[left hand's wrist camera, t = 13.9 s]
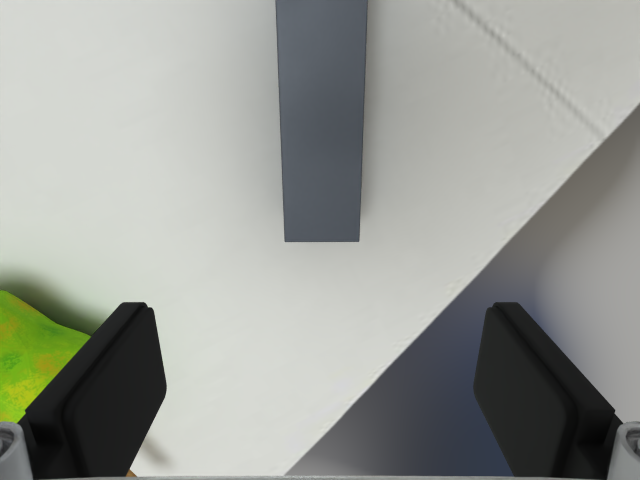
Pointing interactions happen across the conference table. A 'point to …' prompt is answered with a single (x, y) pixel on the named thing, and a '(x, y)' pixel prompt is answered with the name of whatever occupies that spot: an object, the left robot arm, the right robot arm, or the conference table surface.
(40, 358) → the decorative tree
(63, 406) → the left robot arm
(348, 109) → the post
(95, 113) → the conference table surface
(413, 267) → the conference table surface
